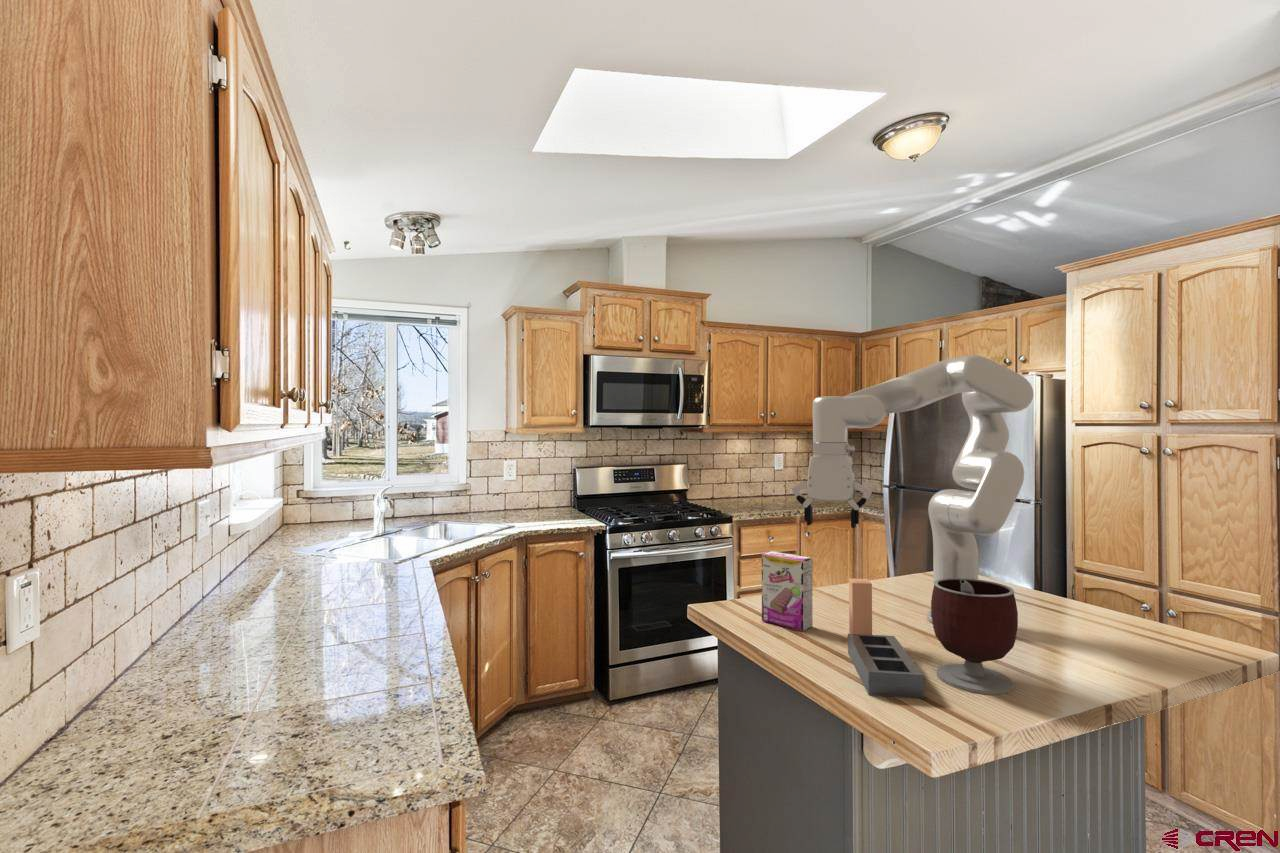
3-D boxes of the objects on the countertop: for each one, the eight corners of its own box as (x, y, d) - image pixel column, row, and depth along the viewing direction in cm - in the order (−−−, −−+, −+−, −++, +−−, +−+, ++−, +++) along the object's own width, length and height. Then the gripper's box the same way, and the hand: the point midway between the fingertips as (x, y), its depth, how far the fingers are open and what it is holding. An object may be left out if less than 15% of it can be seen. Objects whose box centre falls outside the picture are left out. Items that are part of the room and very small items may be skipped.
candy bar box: (760, 621, 143) (760, 553, 144) (771, 617, 147) (771, 550, 147) (803, 632, 136) (802, 560, 136) (813, 627, 140) (813, 556, 140)
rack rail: (894, 655, 121) (894, 635, 121) (924, 698, 102) (923, 675, 102) (848, 653, 123) (847, 633, 123) (868, 695, 103) (868, 671, 103)
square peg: (868, 638, 132) (867, 579, 132) (872, 644, 128) (871, 583, 128) (849, 637, 132) (849, 578, 133) (852, 643, 129) (852, 583, 129)
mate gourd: (941, 659, 119) (940, 559, 119) (1023, 677, 110) (1022, 569, 111) (920, 685, 107) (919, 573, 108) (1010, 707, 98) (1009, 585, 99)
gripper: (872, 450, 135) (873, 525, 135) (795, 449, 143) (796, 521, 143) (869, 451, 129) (870, 530, 129) (788, 450, 136) (789, 525, 136)
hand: (831, 525), depth 136 cm, fingers open, 9 cm apart
